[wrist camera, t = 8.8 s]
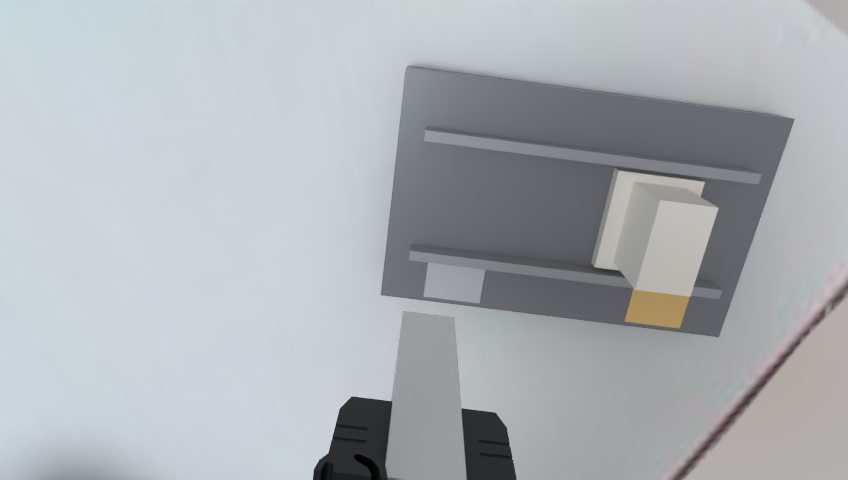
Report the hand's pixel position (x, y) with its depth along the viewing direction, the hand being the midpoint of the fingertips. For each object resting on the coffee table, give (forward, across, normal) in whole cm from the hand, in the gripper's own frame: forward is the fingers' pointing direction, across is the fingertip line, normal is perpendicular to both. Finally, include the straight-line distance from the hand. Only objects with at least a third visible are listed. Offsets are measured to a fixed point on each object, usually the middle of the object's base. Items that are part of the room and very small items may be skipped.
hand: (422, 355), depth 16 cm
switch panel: (+20, -9, 0) cm, 22 cm away
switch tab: (+18, -13, 0) cm, 22 cm away
